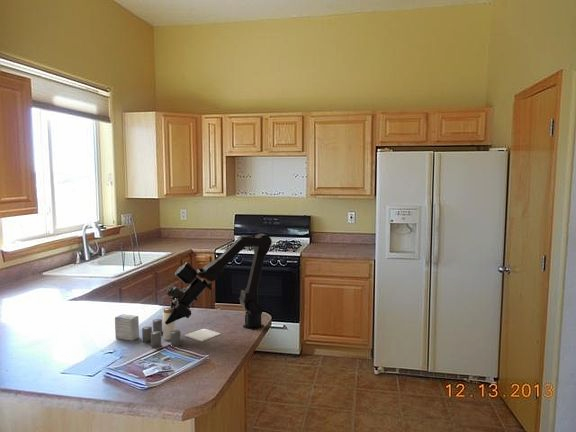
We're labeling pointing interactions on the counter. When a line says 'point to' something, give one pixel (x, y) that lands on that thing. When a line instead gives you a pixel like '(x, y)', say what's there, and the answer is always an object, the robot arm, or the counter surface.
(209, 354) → the counter surface
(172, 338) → the spacer
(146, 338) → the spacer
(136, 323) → the medicine box
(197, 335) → the mat
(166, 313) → the jar
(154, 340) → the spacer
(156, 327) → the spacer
